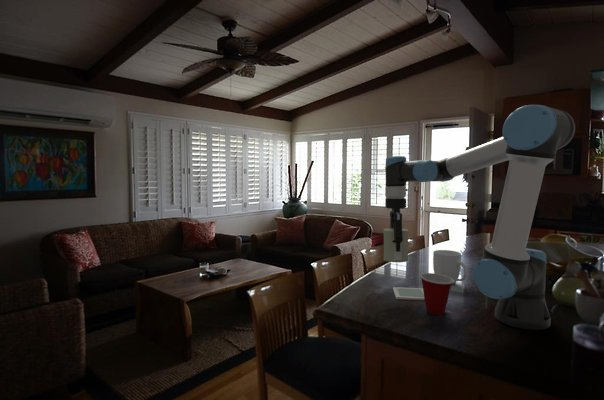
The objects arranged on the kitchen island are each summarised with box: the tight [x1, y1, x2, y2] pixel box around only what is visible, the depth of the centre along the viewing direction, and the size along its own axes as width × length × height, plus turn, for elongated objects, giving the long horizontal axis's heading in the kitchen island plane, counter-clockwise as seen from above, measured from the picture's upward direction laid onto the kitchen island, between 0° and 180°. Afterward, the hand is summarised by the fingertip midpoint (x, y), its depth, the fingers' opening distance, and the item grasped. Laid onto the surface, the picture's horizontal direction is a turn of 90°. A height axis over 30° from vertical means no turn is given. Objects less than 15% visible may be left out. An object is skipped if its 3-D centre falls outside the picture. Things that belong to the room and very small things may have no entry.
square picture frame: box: [392, 286, 425, 301], centre depth 142 cm, size 12×12×1 cm
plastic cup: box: [420, 272, 454, 316], centre depth 124 cm, size 11×11×12 cm
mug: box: [432, 249, 469, 285], centre depth 155 cm, size 15×11×13 cm
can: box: [382, 227, 409, 263], centre depth 140 cm, size 9×9×12 cm
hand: (395, 257), depth 140 cm, fingers closed on can, 9 cm apart
